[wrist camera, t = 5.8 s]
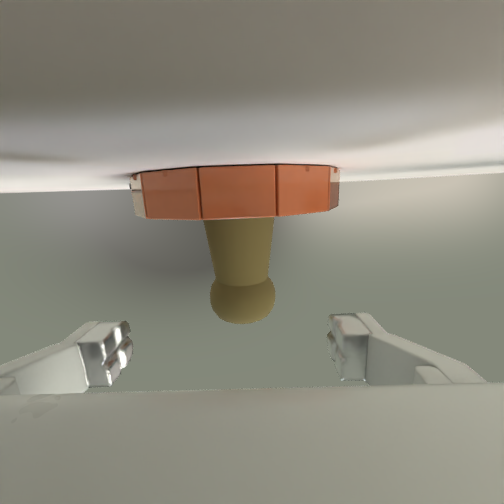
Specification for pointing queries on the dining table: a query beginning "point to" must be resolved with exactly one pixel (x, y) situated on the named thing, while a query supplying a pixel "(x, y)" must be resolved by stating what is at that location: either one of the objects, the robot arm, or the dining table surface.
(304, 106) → the dining table surface
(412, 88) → the dining table surface
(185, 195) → the orange ring
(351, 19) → the dining table surface
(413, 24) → the dining table surface
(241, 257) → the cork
